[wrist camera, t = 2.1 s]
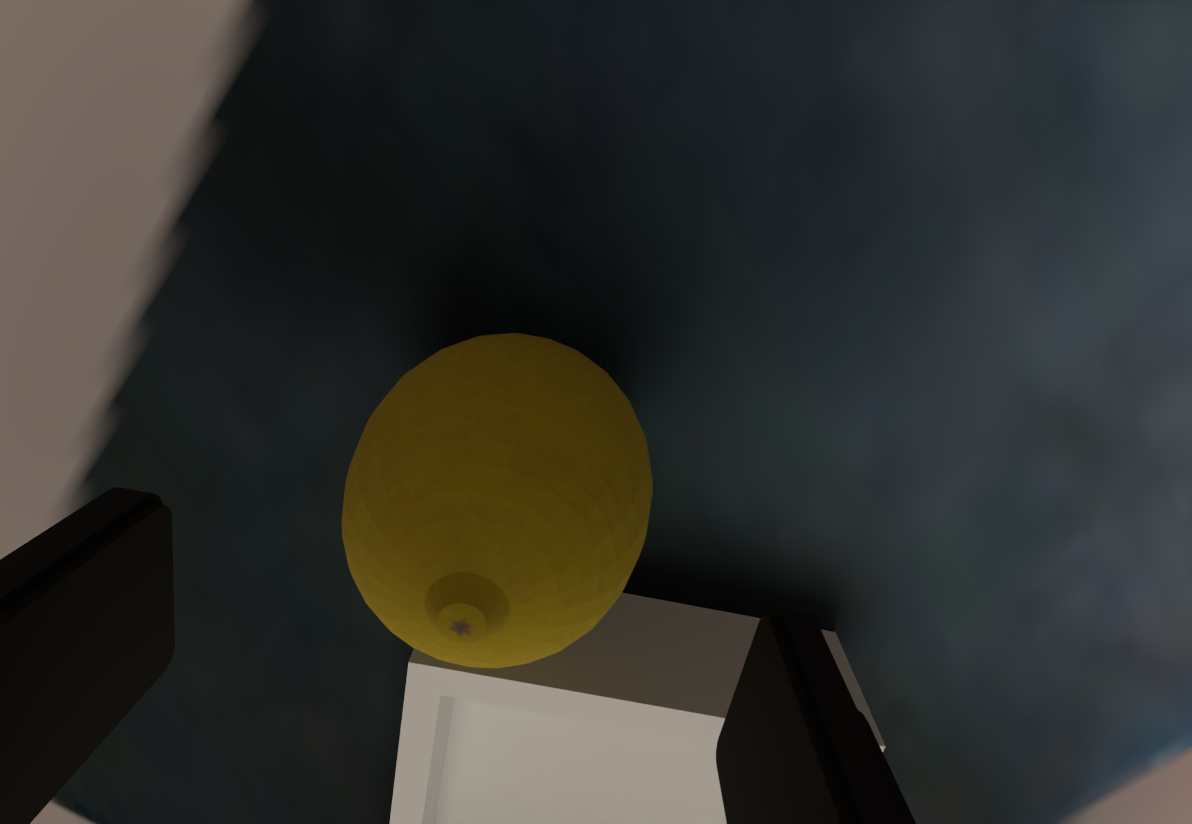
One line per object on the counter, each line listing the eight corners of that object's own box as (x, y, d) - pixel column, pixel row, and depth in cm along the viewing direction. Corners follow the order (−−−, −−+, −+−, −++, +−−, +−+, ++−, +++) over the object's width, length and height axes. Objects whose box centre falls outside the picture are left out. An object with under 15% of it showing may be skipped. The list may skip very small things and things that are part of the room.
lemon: (376, 413, 17) (182, 636, 9) (515, 244, 15) (413, 350, 7) (546, 540, 18) (495, 825, 10) (692, 398, 16) (753, 618, 9)
